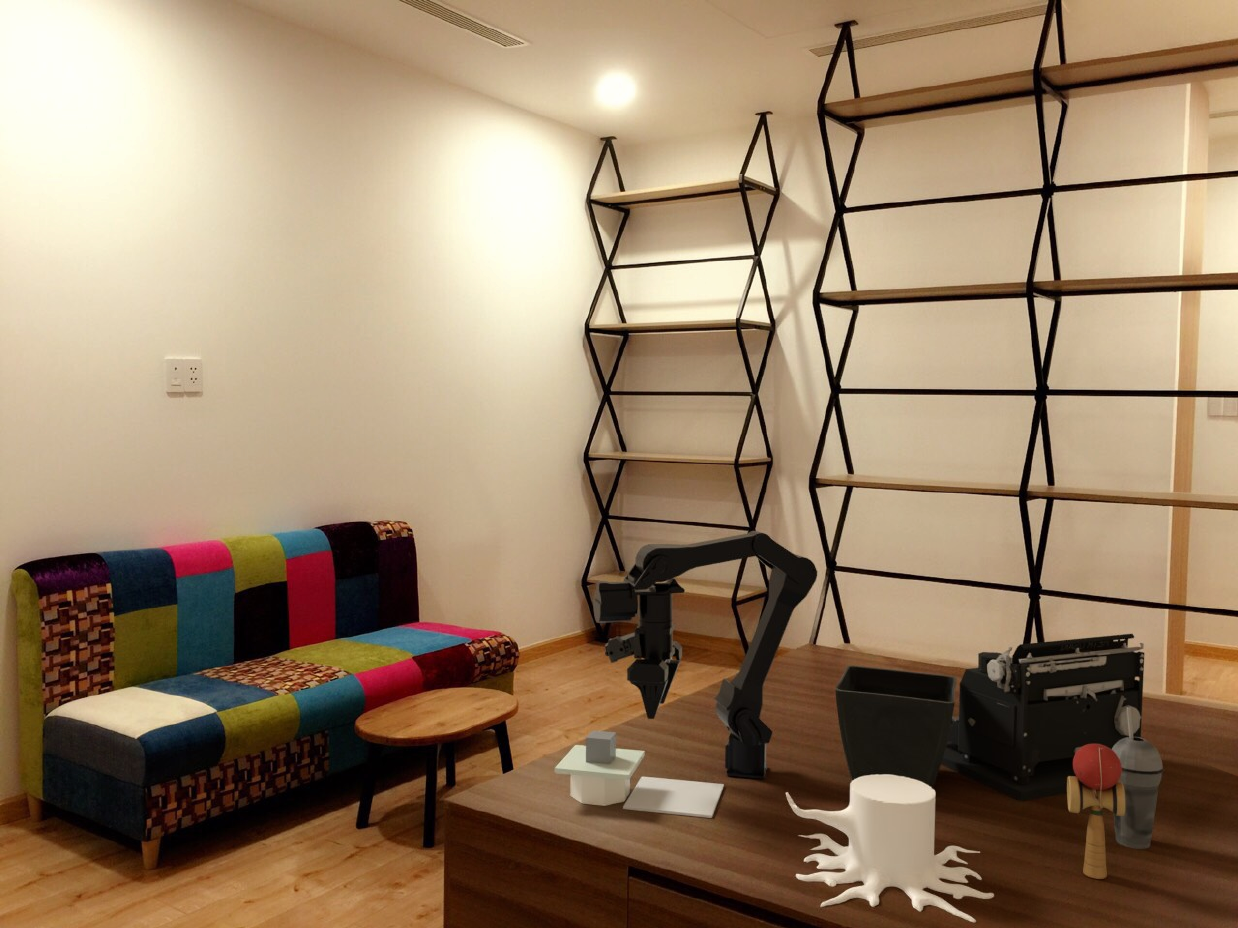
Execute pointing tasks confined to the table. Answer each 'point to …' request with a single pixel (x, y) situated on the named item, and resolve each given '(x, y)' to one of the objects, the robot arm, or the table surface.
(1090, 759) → the kendama
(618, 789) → the bowl
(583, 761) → the cover sheet
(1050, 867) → the table surface
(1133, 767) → the beverage cup
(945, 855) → the tree stump
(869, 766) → the flower pot
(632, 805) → the mat
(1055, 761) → the typewriter
